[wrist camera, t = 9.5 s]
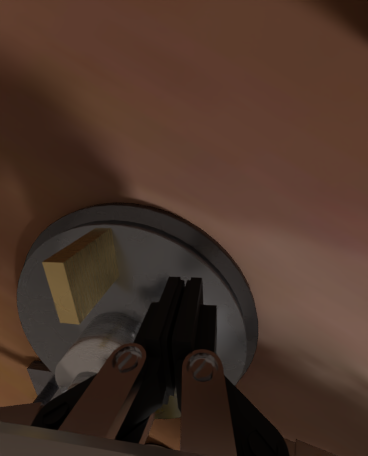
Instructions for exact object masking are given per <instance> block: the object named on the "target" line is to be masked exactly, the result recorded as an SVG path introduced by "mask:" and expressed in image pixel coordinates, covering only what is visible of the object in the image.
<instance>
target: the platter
mask: <svg viewBox="0 0 368 456" xmlns="http://www.w3.org/2000/svg"><path fill="white" fill-rule="evenodd" d="M169 277H180V278H181V280H184V282H185V285H186V282H187V280H191V277H197V278H202V281H203V304H204V305H217V347H216V355H218V357H219V358H220V360H221V362H222V365H223V370H224V375H225V376H226V377H227V378H228V379H229V380H230V382H231V383H232V384H233V385H234V386H235V385H236V384H237V382H238V380H239V378H240V376H241V374H242V371H243V368H244V365H245V361H246V353H247V341H246V328H245V322H244V317H243V312H242V309H241V307H240V304H239V301H238V299H237V297H236V295H235V293H234V291H233V290H232V288H231V286H230V284H229V283H228V281H227V280H226V279H225V277H224V276H223V275H222V273H221V272H220V271H219V270H218V269H217V268H216V267H215V266H214V265H213V264H212V263H211V262H210V261H209V260H208V259H207V258H206V257H205V256H204V255H203V254H201V253H200V252H199V251H198V250H196V249H195V248H194V247H192V246H191V245H189V244H187V243H186V242H184V241H183V240H181V239H179V238H178V237H175V236H173V235H171V234H169V233H167V232H165V231H163V230H160V229H157V228H154V227H151V226H148V225H145V224H140V223H135V222H129V221H118V220H104V221H93V222H89V223H84V224H80V225H77V226H75V227H72V228H70V229H67V230H65V231H63V232H61V233H60V234H58V235H56V236H54V237H53V238H51V239H49V240H48V241H46V242H44V243H43V244H42V245H41V246H40V247H39V248H37V249H36V250H35V251H34V253H33V254H32V255H31V256H30V258H29V259H28V260H27V262H26V264H25V266H24V268H23V270H22V272H21V275H20V278H19V281H18V289H17V307H18V313H19V318H20V321H21V324H22V328H23V330H24V332H25V335H26V337H27V339H28V341H29V342H30V344H31V346H32V348H33V349H34V351H35V352H36V354H37V355H38V356H39V358H40V359H41V360H42V362H43V363H44V364H45V365H46V366H47V367H48V369H49V370H50V371H51V372H52V373H53V374H55V369H56V366H57V365H58V363H59V362H60V360H61V359H62V358H63V356H64V355H65V354H66V353H67V351H68V350H69V349H70V347H71V346H72V345H73V344H74V342H75V341H76V340H77V338H78V337H79V336H80V334H81V333H82V332H83V331H84V329H85V328H86V327H87V325H88V324H89V323H90V322H91V320H92V319H93V318H95V317H96V316H98V315H100V314H103V313H119V314H123V315H126V316H129V317H131V318H133V319H134V320H136V321H138V322H139V323H140V324H142V322H143V320H144V317H145V315H146V313H147V311H148V308H149V306H150V304H151V303H152V302H159V301H160V298H161V296H162V293H163V291H164V288H165V286H166V283H167V281H168V278H169ZM180 417H181V412H180V410H179V409H178V403H177V393H176V388H175V393H174V396H169V401H168V405H166V404H162V407H160V408H159V409H158V410H156V411H155V417H154V419H170V418H180Z"/></svg>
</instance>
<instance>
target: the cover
mask: <svg viewBox="0 0 368 456" xmlns="http://www.w3.org/2000/svg"><path fill="white" fill-rule="evenodd" d="M140 326H141V324H140V323H139V322H138V321H136V320H134V319H133V318H131V317H129V316H126V315H123V314H119V313H103V314H100V315H98V316H96V317H95V318H93V319H92V320H91V322H90V323H89V324H88V325H87V327H86V328H85V329H84V331H83V332H82V333H81V334H80V336H79V337H78V338H77V340H76V341H75V342H74V344H73V345H72V346H71V347H70V349H69V350H68V351H67V353H66V354H65V355H64V356H63V358H62V359H61V360H60V362H59V363H58V365H57V366H56V369H55V379H56V382H57V385H58V387H59V389H60V390H61V392H62V393H64V392H66V391H67V390H69V389H71V388H73V387H74V386H76V385H78V384H79V383H81V382H83V381H85V380H86V379H88V378H90V377H91V376H93V375H95V374H97V373H98V372H99V370H100V369H101V368H102V366H103V365H104V363H105V362H106V360H107V359H108V358H109V356H110V355H111V354H112V352H113V351H114V350H115V349H117V348H118V347H120V346H122V345H124V344H128V343H133V342H134V340H135V338H136V335H137V333H138V331H139V329H140Z"/></svg>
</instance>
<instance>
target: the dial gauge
mask: <svg viewBox="0 0 368 456" xmlns="http://www.w3.org/2000/svg"><path fill="white" fill-rule="evenodd" d="M27 370H28V373H29V375H30V378H31V380H32V383H33V385H34V388H35V390H36V393H37V395H38V396H37V398H36V399H35V400H34V402H33V403H38V402H42V404H43V405H46V404H47V403H48V402H49V401H51V400H52V399H54V398H55V397H57V396H59V395H60V394H62V392H61V390H60V389H59V387H58V385H57V382H56V379H55V374H53V373H52V372H51V371H50V370H49V369H48V367H47V366H46V365H45V364H44V363H43V362H40V361H33V362H32V363H31V364H30V366H29V367H28V368H27Z"/></svg>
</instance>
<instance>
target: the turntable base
mask: <svg viewBox="0 0 368 456" xmlns="http://www.w3.org/2000/svg"><path fill="white" fill-rule="evenodd" d="M104 220H118V221H129V222H135V223H140V224H145V225H148V226H151V227H154V228H157V229H160V230H163V231H165V232H167V233H169V234H171V235H173V236H175V237H178V238H179V239H181V240H183V241H184V242H186V243H187V244H189V245H191V246H192V247H194V248H195V249H196V250H198V251H199V252H200V253H201V254H203V255H204V256H205V257H206V258H207V259H208V260H209V261H210V262H211V263H212V264H213V265H214V266H215V267H216V268H217V269H218V270H219V271H220V272H221V273H222V275H223V276H224V277H225V279H226V280H227V281H228V283H229V284H230V286H231V288H232V290H233V291H234V293H235V295H236V297H237V299H238V301H239V304H240V307H241V309H242V312H243V317H244V322H245V328H246V341H247V353H246V361H245V365H244V368H243V371H242V374H241V376H240V378H239V380H240V379H241V377H242V376H243V375H244V374H245V372H246V371H247V369H248V367H249V365H250V364H251V362H252V359H253V356H254V353H255V350H256V346H257V340H258V319H257V313H256V308H255V303H254V298H253V295H252V293H251V290H250V287H249V284H248V282H247V280H246V279H245V277H244V275H243V273H242V271H241V269H240V268H239V267H238V265H237V264H236V263H235V261H234V260H233V259H232V257H231V256H230V255H229V254H228V253H227V251H226V250H225V249H224V248H223V247H222V246H221V245H220V244H219V243H218V242H217V241H215V240H214V239H213V238H212V237H210V236H209V235H208V234H207V233H206V232H204V231H203V230H201V229H200V228H198V227H197V226H195V225H193V224H192V223H190V222H188V221H187V220H185V219H183V218H180V217H178V216H176V215H174V214H172V213H170V212H166V211H163V210H160V209H157V208H154V207H150V206H144V205H139V204H133V203H107V204H98V205H94V206H90V207H86V208H83V209H80V210H78V211H75V212H73V213H71V214H68V215H66V216H64V217H62V218H61V219H59V220H57V221H56V222H54V223H53V224H51V225H50V226H49V227H48V228H47V229H45V230H44V231H43V232H42V233H41V234H40V235H39V237H38V238H37V239H36V241H35V242H34V243H33V245H32V247H31V249H30V251H29V253H28V254H27V257H26V260H25V264H26V262H27V260H28V259H29V258H30V256H31V255H32V254H33V253H34V251H35V250H36V249H37V248H39V247H40V246H41V245H42V244H43V243H44V242H46V241H48V240H49V239H51V238H53V237H54V236H56V235H58V234H60V233H61V232H63V231H65V230H67V229H70V228H72V227H75V226H77V225H80V224H84V223H89V222H93V221H104ZM25 264H24V266H25ZM23 268H24V267H23ZM239 380H238V381H239Z"/></svg>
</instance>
